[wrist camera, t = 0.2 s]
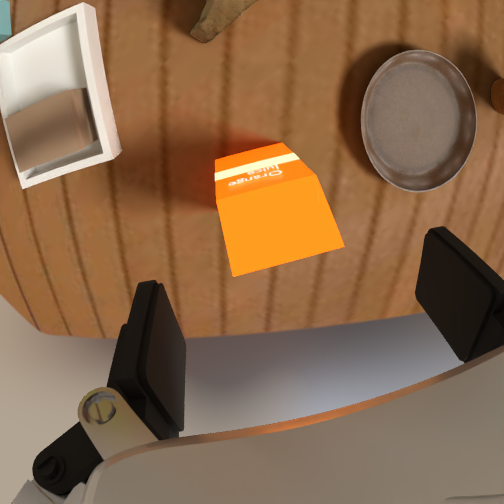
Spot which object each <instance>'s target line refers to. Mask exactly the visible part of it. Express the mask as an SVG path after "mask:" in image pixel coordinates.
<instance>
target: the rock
mask: <svg viewBox="0 0 504 504" xmlns="http://www.w3.org/2000/svg"><path fill="white" fill-rule="evenodd" d="M257 1H258V0H207V1H206V5H205V7H204V9H203V10H202V13H201V17H200V21H199V22H198V23H197V24H196V25H195V26H194V27H193V28H192V30H191V33H190V35H191V36H193V37H194V38H196V39H198V40H199V41H201V42H203V43H208V42H209V41H211V40H213V39H214V38H215V37H216V36H217V35H218V34H219V33H221V32H222V31H223V30H224V29H225V28H226V27H227V26H228V25H230V24H231V23H233V22H234V20H236V19H237V18H238V17H239V16H240V15H241V14H242V13H243V12H244V11H245V10H247V9H248V8H249V7H250V6H251V5H252V4H254V3H255V2H257Z"/></svg>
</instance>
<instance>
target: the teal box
mask: <svg viewBox="0 0 504 504" xmlns="http://www.w3.org/2000/svg"><path fill="white" fill-rule="evenodd" d="M11 35H12V34H11V21H10V1H6V0H0V42H1V41H3V40H5V39H6V38H8V37H10V36H11Z"/></svg>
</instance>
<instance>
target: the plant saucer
mask: <svg viewBox="0 0 504 504" xmlns="http://www.w3.org/2000/svg"><path fill="white" fill-rule="evenodd" d="M476 130H477V112H476V105H475V101H474V97H473V94H472V92H471V89H470V87H469V85H468V83H467V81H466V79H465V78H464V76H463V75H462V73H461V72H460V71H459V70H458V68H457V67H456V66H455V65H453V64H452V63H451V62H450V61H449V60H447V59H446V58H444V57H442V56H441V55H439V54H436V53H434V52H430V51H425V50H409V51H405V52H402V53H399V54H397V55H395V56H393V57H391V58H390V59H388V60H387V61H386V62H385V63H384V64H383V65H382V66H381V67H380V68H379V69H378V70H377V71H376V73H375V74H374V76H373V77H372V79H371V81H370V83H369V85H368V87H367V90H366V92H365V95H364V99H363V104H362V110H361V131H362V137H363V142H364V146H365V149H366V152H367V154H368V157H369V159H370V161H371V163H372V164H373V166H374V167H375V169H376V170H377V172H378V173H379V174H380V175H381V176H382V177H383V178H384V179H385V180H386V181H387V182H389V183H390V184H392V185H393V186H395V187H397V188H399V189H402V190H405V191H409V192H426V191H431V190H434V189H436V188H439V187H441V186H443V185H444V184H446V183H447V182H449V181H450V180H451V179H453V178H454V177H455V176H456V175H457V174H458V173H459V171H460V170H461V169H462V168H463V166H464V165H465V163H466V161H467V159H468V157H469V155H470V153H471V151H472V148H473V145H474V141H475V137H476Z"/></svg>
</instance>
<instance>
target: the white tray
mask: <svg viewBox="0 0 504 504" xmlns="http://www.w3.org/2000/svg"><path fill="white" fill-rule="evenodd" d="M78 88H86V89H87V94H88V99H89V103H90V108H91V112H92V117H93V121H94V125H95V129H96V134H97V138H98V140H96V141H95V142H93V143H91V144H90V145H88V146H86V147H85V148H83V149H82V150H80V151H77V152H74V153H71V154H68V155H65V156H62V157H60V158H57V159H54V160H51V161H49V162H46V163H43V164H41V165H38V166H36V167H33V168H31V169H28V170H26V171H23V172H21V173H20V172H19V169H18V166H17V163H16V159H15V156H14V152H13V149H12V145H11V141H10V138H9V134H8V130H7V126H6V121H5V119H6V118H8V117H9V116H11V115H13V114H15V113H17V112H19V111H21V110H23V109H25V108H27V107H29V106H31V105H34V104H36V103H38V102H40V101H42V100H44V99H47V98H49V97H51V96H53V95H56V94H58V93H61V92H63V91H65V90H71V89H78ZM0 109H1V114H2V118H3V123H4V127H5V131H6V135H7V139H8V143H9V146H10V150H11V154H12V157H13V161H14V164H15V167H16V170H17V174H18V177H19V180H20V183H21V186H22V189H24V188H27V187H30V186H32V185H35V184H38V183H40V182H43V181H46V180H49V179H52V178H55V177H57V176H60V175H63V174H66V173H69V172H72V171H76V170H79V169H82V168H85V167H88V166H92V165H95V164H98V163H102V162H105V161H109V160H112V159H114V158H115V157H116V156H117V155H119V154H120V153H121V152H122V149H121V145H120V141H119V137H118V132H117V128H116V124H115V119H114V115H113V110H112V106H111V101H110V96H109V91H108V86H107V81H106V76H105V71H104V65H103V59H102V54H101V47H100V41H99V34H98V27H97V20H96V12H95V8H94V7H92V6H90V5H88V4H86V3H84V2H82V3H80V4H78V5H75V6H73V7H71V8H68V9H66V10H64V11H62V12H59V13H57V14H55V15H53V16H51V17H49V18H47V19H45V20H43V21H41V22H39V23H37V24H35V25H33V26H31V27H30V28H28V29H26V30H24V31H22V32H21V33H19V34H17V35H15V36H14V37H12V38H10V39H9V40H7V41H5V42H4V43H2V44H0Z"/></svg>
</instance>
